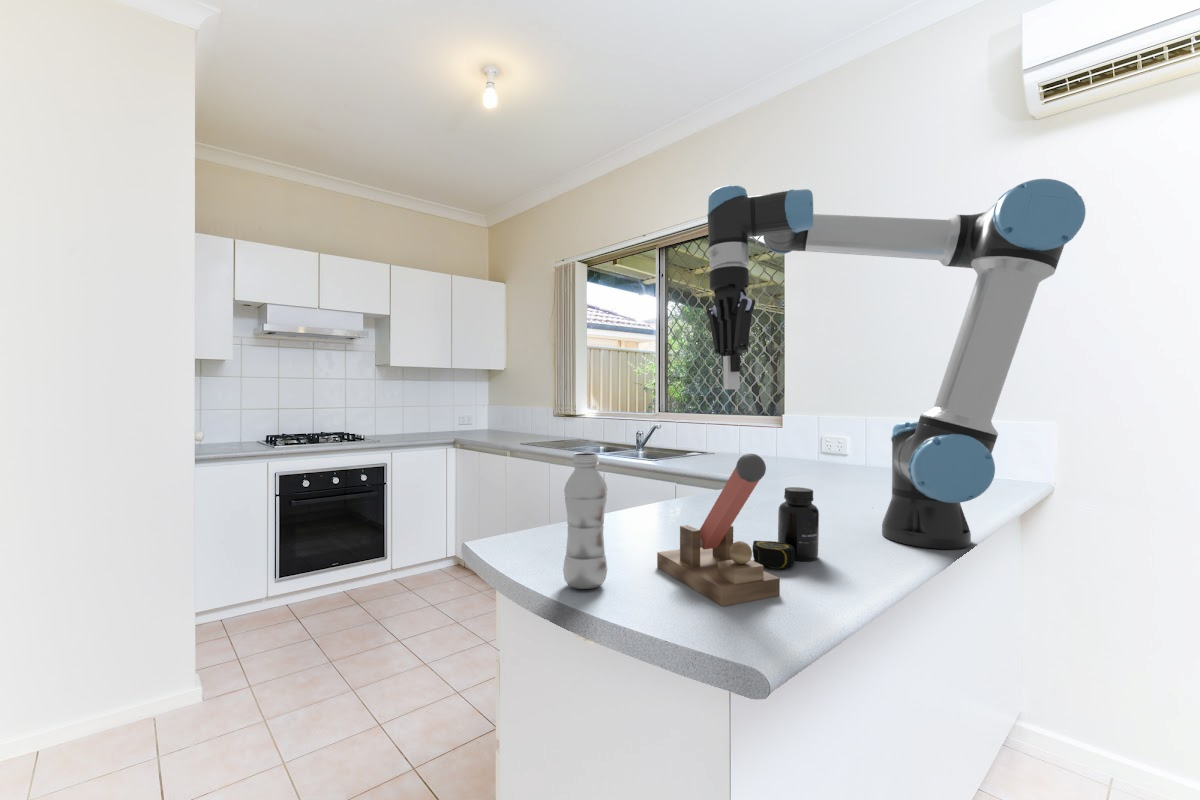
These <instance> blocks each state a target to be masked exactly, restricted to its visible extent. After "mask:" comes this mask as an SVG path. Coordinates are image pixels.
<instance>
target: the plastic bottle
mask: <svg viewBox="0 0 1200 800" xmlns="http://www.w3.org/2000/svg"><path fill="white" fill-rule="evenodd" d="M572 458H573V459H572V461H573V462H572V467H574V470H573V472H572V473H571V474H570V476H569V477H568V479H567V481H566V483H565V485H564V489H563V491H564V492H563V493H564V501H565V503H564V504H565V509H566V520H567V521H566V522H567V539H566V551H565V555H564V556H565V557H564V561H563V566H562V567H563V569H562V572H563V578H564V579H563V580H564V582H565V583H566V585H568V586H569V587H570V588H573V589H579V590H585V589H586V590H588V589H590V590H591V589H595V588H598V587H601V586H602V585H603V584H604V582H605V581H606V579H607V573H608V562H607V557H606V552H605V551H606V550H605V541H604V539H605V538H604V530H605V529H604V524H605V512H606V506H607V505H606V504H607V501H608V500H607V499H608V498H607V496H608V490H609V489H608V486H607V485H608V484H607V482H606V481H605V479H604V477H603V476H602V475H601V473H600V472H599V471H598V467H599V466H600V464H599V463H600V462H599V460H598V459H599V455H598V453H595V452H578V453H573V457H572Z"/></svg>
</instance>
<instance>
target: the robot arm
mask: <svg viewBox="0 0 1200 800" xmlns="http://www.w3.org/2000/svg"><path fill="white" fill-rule="evenodd" d="M747 193H748V192H747V190H746V188H745V187H743V186H740V185H732V184H731V185H724V186H720V187H718V188H716V189H714V190H713V191H711V193H710V194H709V196H708V201H707V202H708V204H707V205H708V206H707V207H708V209H707V215H706V216H707V229H708V232H707V233H708V255H709V269H710V272H709V289H710V291H712V292H714V299H713V304H714V305H713V306H712V308H708V309H706V315H707V317H708V319H709V325H710V330H711V337H712V342H713V349H714V353H715V354H716V355H720V356H721V359H722V361H721V362H722V364H721V365H722V373H723V390H740V389H741V381H740V375H741V374H740V371H741V355H742V353H743V352H747V351H748V348H749V340H750V332H751V324H752V316H753V311H754V308H755V306H756V300H755V299H753V298H749V297H747V293H746V290H747V289H748V288H749V286H750V273H749V272H750V271H749V269H748V268H747V267H749V265H750V263H749V260H750V259H749V256H750V255H749V240H748V239H749V238H751V237H753V238H756V237H762V236H763V241H764V243H765V245H766V246H767V248H768V249H769V250H770V251H771V252H773V253H774V254H776V255H777V254H778V255H786V254H788V253H791V252H793V251H794V252H810V253H811V252H812V253H826V254H827V253H828V254H839V255H840V254H841V255H856V256H858V255H860V256H868V257H869V256H870V257H871V256H872V257H882V258H883V257H886V258H887V257H888V258H899V259H900V258H902V259H916V260H928V261H929V260H930V261H931V260H933V261H939V263H940V264H941V265H942V266H943V267H951V268H954V267H955V268H964V269H973V270H974V271H975V272H976V275H977V277H976V280H975V283H974V286H973V288H972V291H971V294H970V297H969V301H968V304H967V307H966V310H965V312H964V316H963V318H962V321H961V325H960V328H959V331H958V334H957V337H956V339H955V342H954V346H953V348H952V351H951V355H950V358H949V361H948V363H947V366H946V369H945V372H944V375H943V379H942V382H941V385H940V388H939V390H938V393H937V396H936V399H935V402H934V406H933V407H932V408H930V409H929V410H927V411H925V412H922V413H921V414H920V416H919V419H918V421H910V422H909V421H907V422H905V421H904V422H899V423H896V424H895V425H894V426H893V429H892V435H891V437H890V439H891V440H890V441H891V450H892V451H891V456H892V457H891V458H892V459H891V461H892V462H891V473H892V474H891V499H890V501H889V504H888V507H887V509H886V512H885V514H884V517H883V520H882V523H881V535H882V536H883V537H884V538H886V539H888V540H891V541H894V542H896V543H899V544H900V543H901V544H904V545H908V546H914V547H921V548H928V549H936V550H937V549H941V550H958V549H959V550H960V549H964V548H965V549H966V548H968V547H970V546H971V544H972V542H971V541H972V533H971V530H970V527H969V525H968V521H967V518H966V516H965V514H964V511H963V508H962V505H961V503H964V502H969V501H972V500H975V499H977V498H978V497H980V496H981V495H982V494H984V493H985V492H986V491H987V490H988V489H989V487H991V485H992V483H993V481H994V479H995V474H996V465H995V460H994V458H993V454H992V453H993V451H994V447H995V445H996V442H997V439H998V436H999V433H998V432H997V430H996V428H995V427H994V425H993V422H992V420H993V417H994V414H995V412H996V407H997V405H998V402H999V401H1000V400H999V399H1000V396H1001V394H1002V391H1003V388H1004V385H1005V383H1006V380H1007V378H1008V377H1007V376H1008V373H1009V370H1010V368H1011V365H1012V362H1013V359H1014V356H1015V354H1016V350H1017V347H1018V344H1019V342H1020V340H1021V336H1022V333H1023V329H1024V327H1025V325H1026V322H1027V319H1028V316H1029V313H1030V310H1031V307H1032V304H1033V301H1034V299H1035V296H1036V293H1037V289H1038V287H1039V284H1040V283H1041V282H1042V281H1044V280H1046V279H1048V278H1050V277H1052V276H1053V275H1055V272H1056V270H1057V268H1058V264H1059V262H1060V259H1061V257H1062V256H1061V255H1062V253H1063V251H1064V247H1065V245H1066V244H1068V243H1069V242H1070V241H1072V240H1073V239H1074V237H1076V235H1077V234H1078V232H1079V231H1080V230H1081V228H1082V226H1083V224H1084V222H1085V219H1086V205H1085V201H1084V199H1083V197H1082V196H1081V195H1080V194H1079V193H1078V191H1077V190H1076V189H1075V188H1074V187H1073V186H1071V185H1070V184H1067V183H1066V182H1064V181H1061V180H1057V179H1052V178H1036V179H1032V180H1031V179H1030V180H1028V181H1025V182H1021V183H1020V184H1018V185H1016V186H1015V187H1013V188H1011V189H1009V190H1007V191H1006V192H1004V193H1003V194H1002V195H1001V196H1000V197H999V198H998V199H997V201H996V202H995V203H993V205H992V206H991V207H990V208H989V209H988V210H986V211H985V212H981V213H975V214H954V216H952V217H951V218H948V219H936V218H935V219H932V218H912V217H911V218H910V217H891V216H890V217H889V216H888V217H886V216H868V215H867V216H865V215H843V214H842V215H841V214H823V213H819V214H817V213H816V214H815V213H814V195H813V191H812V190H810V189H808V188H807V189H806V188H804V189H802V188H801V189H789V190H786V191H780V192H779V191H778V192H773V193H772V192H771V193H766V194H760V195H753V196H751V195H748V194H747Z"/></svg>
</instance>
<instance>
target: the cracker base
mask: <svg viewBox="0 0 1200 800" xmlns="http://www.w3.org/2000/svg"><path fill="white" fill-rule="evenodd" d="M752 550H753V549H752V548H751V546H750V545H749V544H748V543H746V542H745V541H741V540H739V541H735V542H734V526H733V525H731V526H730V528H729V530H728V531H727V533H726V534H725V536H724V538H723V539H722V541H721V542H720V544H719V546H718V547H717V548H712V549H704V550H703V548H700V529H698V528H696V527H693V526H691V525H689V524H685V525H680V526H679V549H673V550H672V549H670V550H666V551H657V552H656V553H657V555H656V557H657V558H656V559H657V560H656V561H657V562H656V563H657V568H658V569H659V570H661V571H663V572H664V573H666V574H668V575H669V576H671V577H673V578H675V580H678V581H679V582H681V583H683V584H684V585H686V586H688V587H689V588H691V589H692V590H694V591H696V592H697V593H700V594H701V595H702V596H704V597H705V598H708V599H709V600H711V601H713V602H714V603H716V604H717V605H719V606H721V607H725V606H731V605H737V604H743V603H748V602H753V601H757V600H763V599H768V598H773V597H779V596H781V594H780V593H781V592H780V588H781V587H780V586H781V583H780V582H781V579H780V577H778V576H776V575H775V574H772V573H769V572H767V571H764V568H765V566H763V565H761V564H759V563H757V562H755V561H754V560H751V558H752V557H753V551H752Z"/></svg>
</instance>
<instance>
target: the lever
mask: <svg viewBox="0 0 1200 800" xmlns="http://www.w3.org/2000/svg"><path fill="white" fill-rule="evenodd" d="M766 470H767V466H766V463H765V461H764V459H763V458H762V457H761V456H760V455H758V454H756V453H746V454H744V455H742V456H741V457H739V458H738V460H737V462H736V466H735V467H734V469H733V471H732V473H731V474H730V476H729V478H728V480H727V481H726V483H725V485H724V486H723V488H722V491H721V492H720V494H719V495H718V497H717V499H716V500H715V503H714V504H713V506H712V507H711V509H710V511H709V512H708V515H707V516H706V518H705V520H704V521H703V523H702V525H701V527H700V529H699V530H700V548H703V550H704V549H712V548H717V547H718V546H719V544H720V542H721V541H722V539H723V538H724V536H725V534H726V533H727V531H728V530H729V528H730V526H733V525H732V524H733V523H734V521H735V520H736V518H737V516H738V515H739V514H740V512H741V510H742V509H743V507H744V505H746V502H747V501H748V500H749V498H750V496H751V494H752V493H753V491H754V489H755V488H756V486H757V484H758V483H759V482H760V480H762V479H763V478H764V476H765V475H766Z"/></svg>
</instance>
